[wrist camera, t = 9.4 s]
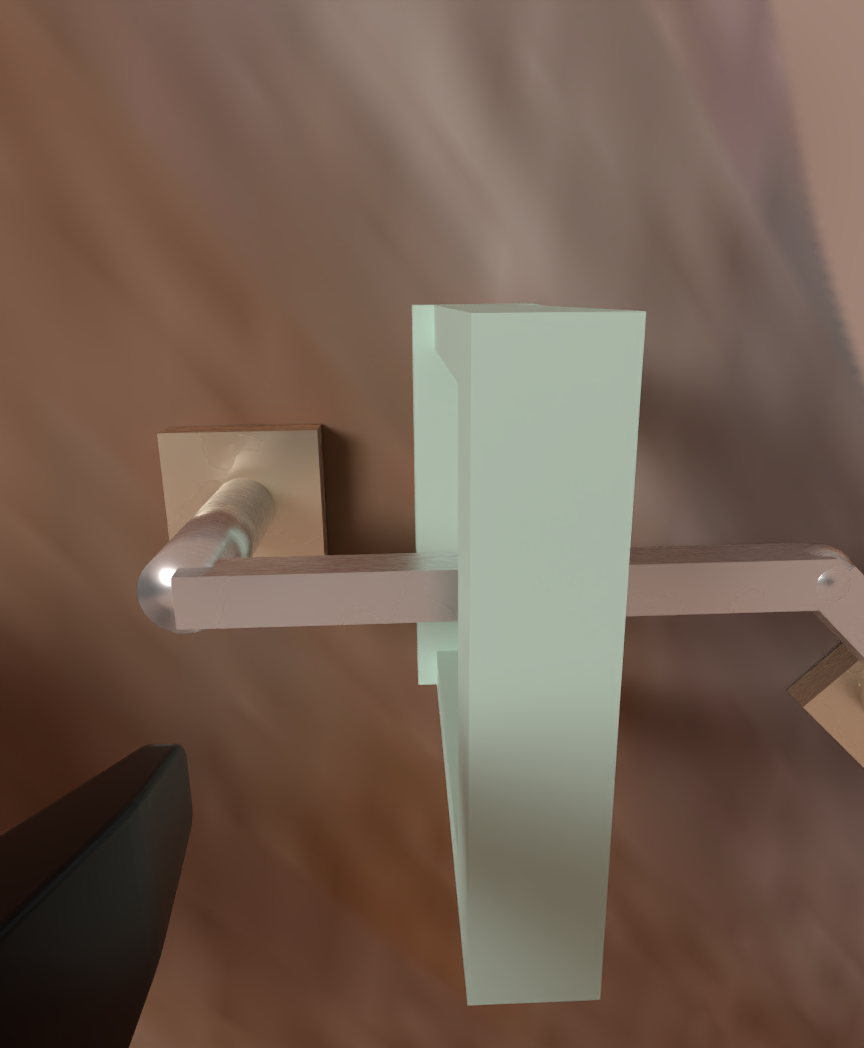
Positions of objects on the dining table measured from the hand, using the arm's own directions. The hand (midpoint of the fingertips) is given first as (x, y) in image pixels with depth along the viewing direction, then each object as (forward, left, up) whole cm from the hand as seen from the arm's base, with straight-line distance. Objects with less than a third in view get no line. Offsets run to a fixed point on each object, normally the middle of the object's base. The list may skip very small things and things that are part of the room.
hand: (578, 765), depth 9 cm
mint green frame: (0, 0, -13) cm, 13 cm away
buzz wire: (0, -4, -13) cm, 14 cm away
